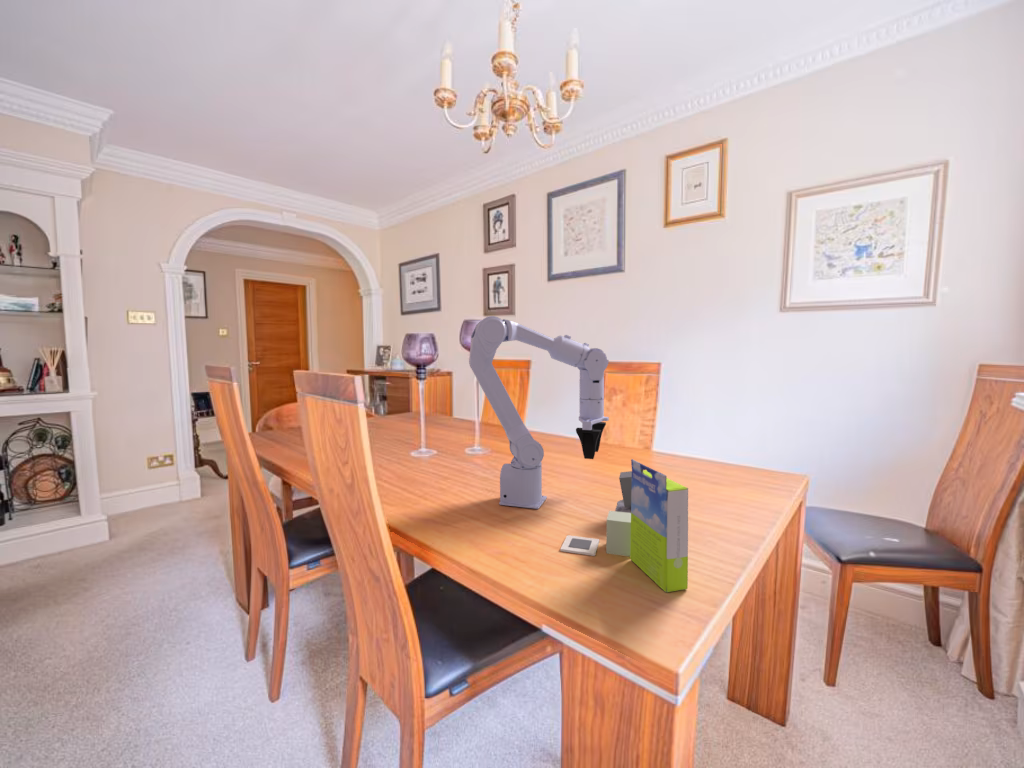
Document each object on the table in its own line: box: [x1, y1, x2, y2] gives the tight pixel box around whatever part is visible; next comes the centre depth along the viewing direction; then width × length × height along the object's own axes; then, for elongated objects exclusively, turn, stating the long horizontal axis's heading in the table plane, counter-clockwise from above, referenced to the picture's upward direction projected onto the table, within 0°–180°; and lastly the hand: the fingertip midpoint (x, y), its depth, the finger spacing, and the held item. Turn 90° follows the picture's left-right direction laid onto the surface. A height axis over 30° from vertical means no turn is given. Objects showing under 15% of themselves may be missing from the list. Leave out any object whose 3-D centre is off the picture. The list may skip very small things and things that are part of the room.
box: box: [629, 458, 689, 593], centre depth 66 cm, size 10×4×17 cm, turn 13°
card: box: [559, 534, 600, 557], centre depth 76 cm, size 6×6×1 cm
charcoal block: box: [618, 470, 632, 507], centre depth 88 cm, size 4×4×6 cm
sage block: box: [605, 510, 631, 557], centre depth 75 cm, size 4×4×6 cm
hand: (591, 454), depth 102 cm, fingers open, 7 cm apart
